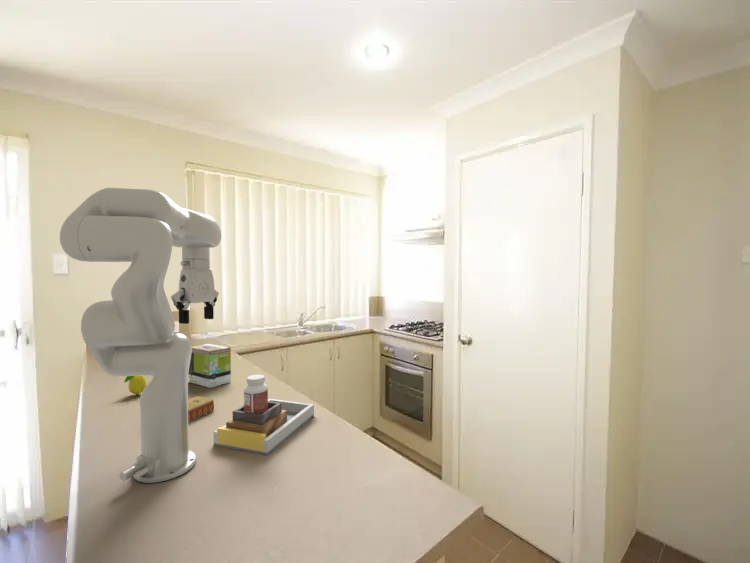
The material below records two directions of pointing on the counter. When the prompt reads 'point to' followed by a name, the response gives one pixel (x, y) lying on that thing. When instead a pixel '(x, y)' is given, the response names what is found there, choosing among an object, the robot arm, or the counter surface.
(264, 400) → the pill bottle
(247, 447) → the bay
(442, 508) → the counter surface
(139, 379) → the lemon
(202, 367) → the tea box
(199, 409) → the carton
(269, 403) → the box
